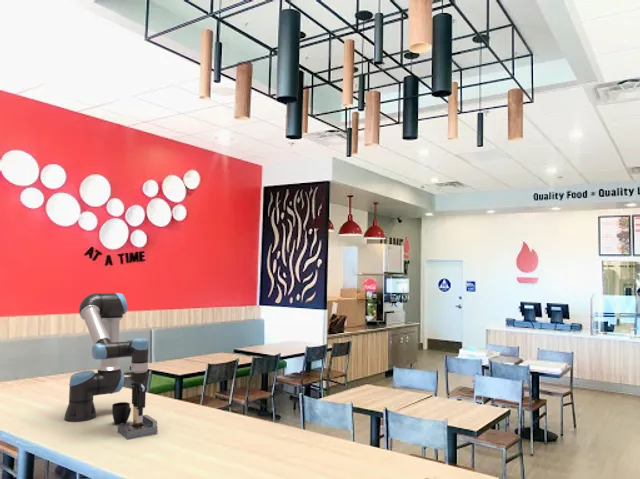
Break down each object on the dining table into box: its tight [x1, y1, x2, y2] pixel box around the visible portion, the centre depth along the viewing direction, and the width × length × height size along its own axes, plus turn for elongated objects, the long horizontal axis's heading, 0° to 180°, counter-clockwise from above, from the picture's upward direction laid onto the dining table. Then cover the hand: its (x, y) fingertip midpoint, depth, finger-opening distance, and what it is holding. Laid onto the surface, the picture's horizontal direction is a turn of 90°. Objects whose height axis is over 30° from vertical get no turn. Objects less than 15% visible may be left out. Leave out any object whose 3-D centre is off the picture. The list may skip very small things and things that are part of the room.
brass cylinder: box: [132, 406, 142, 428], centre depth 246 cm, size 4×4×10 cm
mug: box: [111, 401, 132, 426], centre depth 260 cm, size 8×12×10 cm
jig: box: [117, 414, 158, 440], centre depth 246 cm, size 14×14×6 cm
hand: (137, 421), depth 246 cm, fingers closed on brass cylinder, 4 cm apart
